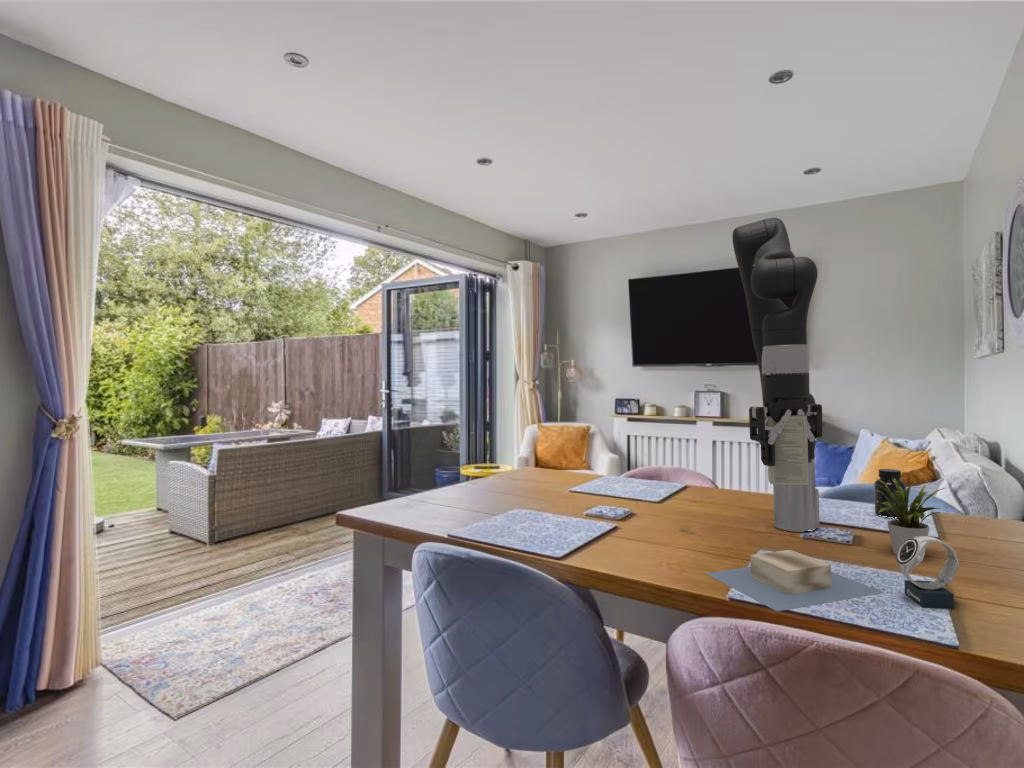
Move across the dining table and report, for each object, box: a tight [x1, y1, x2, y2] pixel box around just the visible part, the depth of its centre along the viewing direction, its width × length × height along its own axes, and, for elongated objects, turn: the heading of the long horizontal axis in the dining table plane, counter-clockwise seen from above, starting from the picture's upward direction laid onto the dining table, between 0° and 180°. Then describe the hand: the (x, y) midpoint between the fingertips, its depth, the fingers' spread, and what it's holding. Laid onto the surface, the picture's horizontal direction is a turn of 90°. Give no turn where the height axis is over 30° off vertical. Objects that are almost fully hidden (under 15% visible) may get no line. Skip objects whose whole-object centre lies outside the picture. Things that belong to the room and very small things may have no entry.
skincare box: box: [765, 415, 809, 485], centre depth 97 cm, size 6×4×12 cm
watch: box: [895, 535, 960, 610], centre depth 88 cm, size 6×8×11 cm
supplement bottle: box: [873, 468, 907, 517], centre depth 144 cm, size 7×7×12 cm
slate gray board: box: [705, 566, 885, 612], centre depth 98 cm, size 22×18×1 cm
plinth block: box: [749, 549, 832, 595], centre depth 98 cm, size 9×9×4 cm
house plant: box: [869, 477, 950, 555], centre depth 114 cm, size 14×14×16 cm
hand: (786, 463), depth 98 cm, fingers closed on skincare box, 7 cm apart
